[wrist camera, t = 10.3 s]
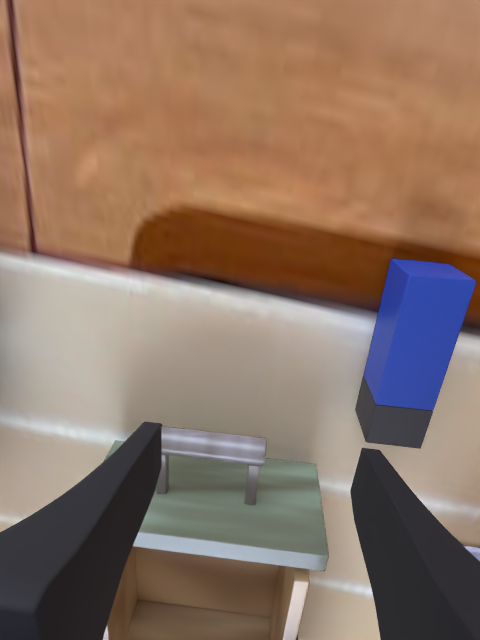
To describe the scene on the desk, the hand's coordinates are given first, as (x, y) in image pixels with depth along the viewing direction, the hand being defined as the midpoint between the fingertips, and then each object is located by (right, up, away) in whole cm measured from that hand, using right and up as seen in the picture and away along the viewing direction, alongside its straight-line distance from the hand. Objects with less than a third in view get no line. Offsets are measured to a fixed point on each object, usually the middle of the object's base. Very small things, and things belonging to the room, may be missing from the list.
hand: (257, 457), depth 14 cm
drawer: (-3, -9, +13) cm, 16 cm away
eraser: (+8, +4, +8) cm, 12 cm away
